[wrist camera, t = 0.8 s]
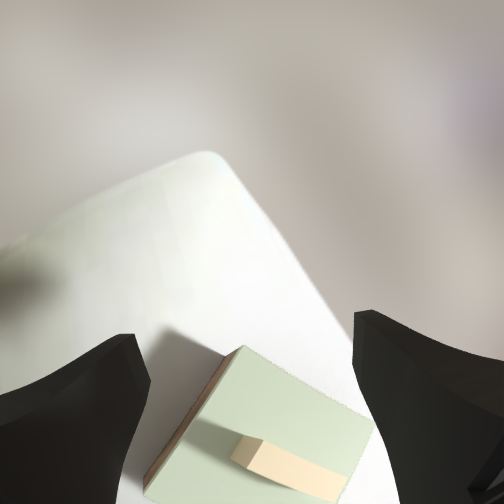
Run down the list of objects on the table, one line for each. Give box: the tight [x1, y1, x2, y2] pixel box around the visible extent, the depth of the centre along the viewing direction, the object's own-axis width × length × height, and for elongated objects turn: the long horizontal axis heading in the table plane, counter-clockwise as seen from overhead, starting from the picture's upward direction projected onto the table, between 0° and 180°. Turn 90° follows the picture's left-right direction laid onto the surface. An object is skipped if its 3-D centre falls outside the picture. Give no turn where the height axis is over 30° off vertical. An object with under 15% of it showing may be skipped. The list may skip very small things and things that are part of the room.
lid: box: [143, 345, 376, 504], centre depth 15 cm, size 12×12×5 cm
